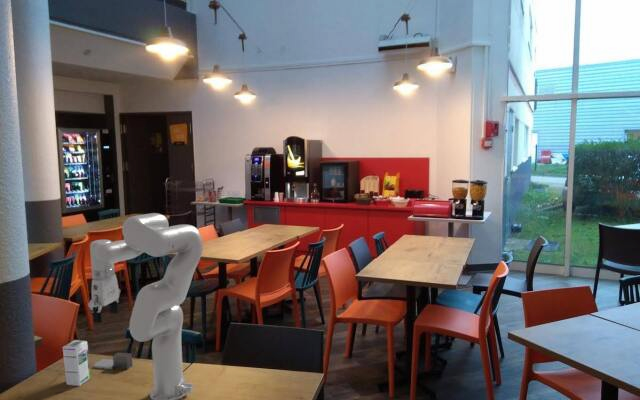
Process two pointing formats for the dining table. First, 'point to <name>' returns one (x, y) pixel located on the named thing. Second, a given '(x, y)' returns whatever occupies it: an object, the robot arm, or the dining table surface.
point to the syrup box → (76, 362)
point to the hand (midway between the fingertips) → (106, 317)
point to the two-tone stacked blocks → (116, 362)
